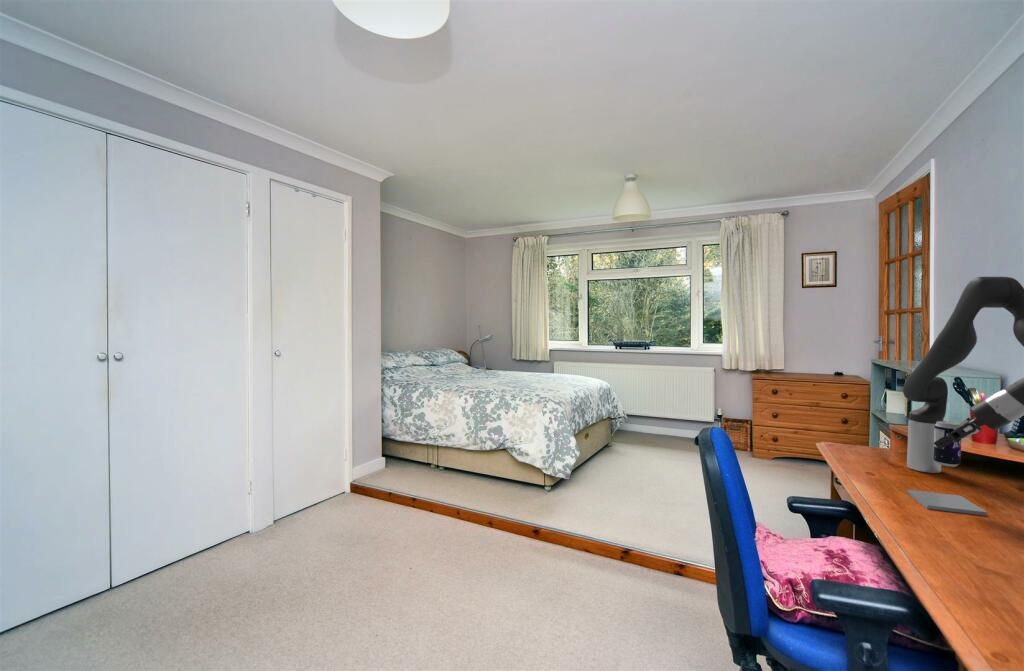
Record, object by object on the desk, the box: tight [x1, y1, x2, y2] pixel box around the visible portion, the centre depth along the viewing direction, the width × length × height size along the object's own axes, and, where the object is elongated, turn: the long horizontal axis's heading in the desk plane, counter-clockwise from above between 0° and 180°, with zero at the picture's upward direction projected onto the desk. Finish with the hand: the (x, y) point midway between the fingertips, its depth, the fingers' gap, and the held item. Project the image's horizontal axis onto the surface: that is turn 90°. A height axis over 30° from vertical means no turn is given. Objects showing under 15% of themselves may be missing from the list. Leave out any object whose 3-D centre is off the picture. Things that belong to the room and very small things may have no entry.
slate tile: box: [906, 489, 988, 517], centre depth 135 cm, size 13×13×1 cm
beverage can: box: [934, 420, 962, 468], centre depth 134 cm, size 6×6×12 cm
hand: (939, 444), depth 136 cm, fingers closed on beverage can, 5 cm apart
